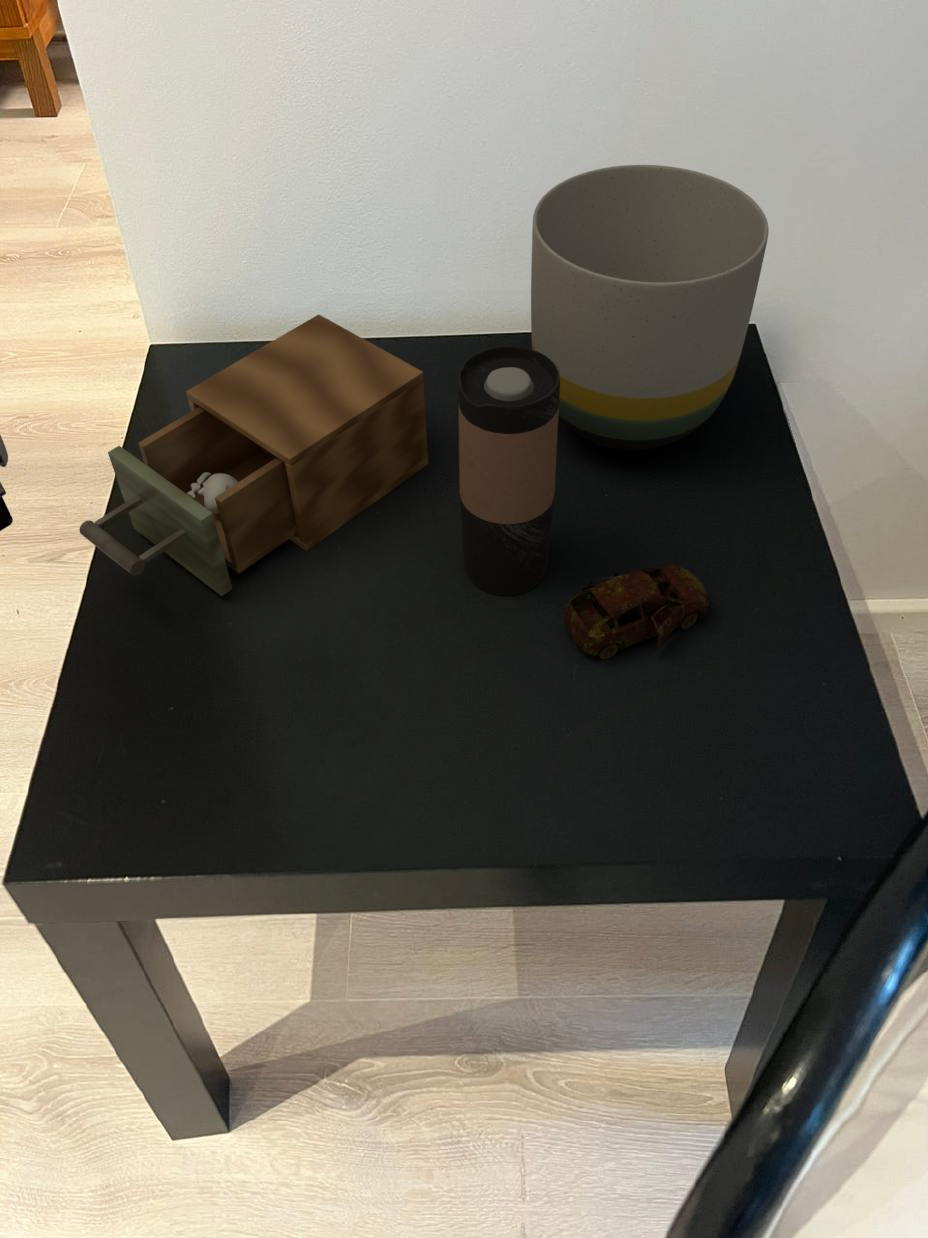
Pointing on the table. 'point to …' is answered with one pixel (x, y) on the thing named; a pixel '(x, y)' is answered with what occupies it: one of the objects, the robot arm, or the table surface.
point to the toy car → (635, 609)
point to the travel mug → (507, 466)
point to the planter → (643, 298)
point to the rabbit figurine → (212, 488)
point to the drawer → (199, 500)
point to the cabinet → (325, 419)
